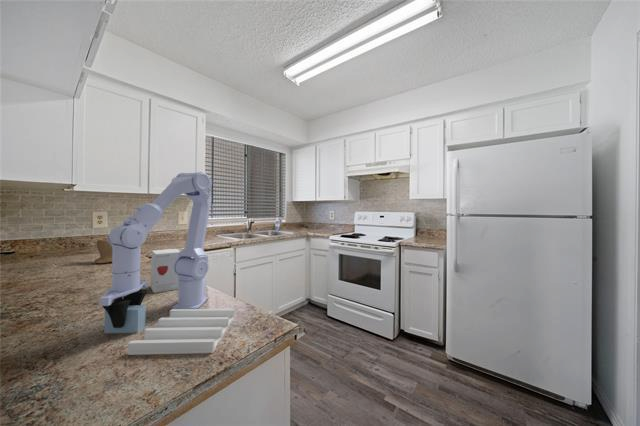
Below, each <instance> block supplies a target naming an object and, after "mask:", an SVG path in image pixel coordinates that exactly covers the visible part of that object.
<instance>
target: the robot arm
mask: <svg viewBox="0 0 640 426" xmlns="http://www.w3.org/2000/svg"><path fill="white" fill-rule="evenodd" d="M212 184H213V181H212V180H211V178H210V176H209V175H208V174H207V173H205V172H203V171H197V172H179V173H178V174H177V175H176V176H175V177H173V178H172V179H171V182H170V183H169V184H168V185H167V187H165V189H163V191H162V192H161V193H160V194H159V195H158V196H157V197H156V198H155V199H154V200H153V201H152V202H151V203H143V204H140V205H138V206H137V207H136V209H137V210H136V211H135V212H134V213H132V214H131V215H130V217H129V218H125V219H123V221H122V222H123V224H120V225H115V227H113V228H112V229H111V230H110V232H109V234H108V235H107V236H106V237H107V240H108V242H109V243H110V244H111V245H112V247H113V250H112V251H113V254H112V262H111V265H112V266H111V287H108V288H107V292H106V293H105V294H104V295H102V296H100V297H99V298H98V299H99V300H98V303H99V305H98V306H99V307H102V308H103V309H104V311H105V310H106V311H107V313H108V314H109V316H110V319H111V322H112V325H113V328H122V327H124V324H125V319H126V312H127V309H128V306H129V305H142V303H143V300H145V299H144V298H145V297H146V295H147V294H148V290H147V289H143V288H148V283H149V282H148V279H141V249H142V248H141V246H142V245H143V244H145V243H146V240H147V237H148V236H147V235H148V233H149V232H150V231H151V230H152V229H153V228H154V227H155V226H156V225H157V224H158V222H160V220H162V218H163V216H164V213H163V211H165V209H166V208H168V207H169V206H170V205H171V204H172V203H173V202H174V201H175V200H177V199H178V198H179V197H180V196H181V195H186V197H188V198H189V199H190V200H191V202H192V208H191V214H190V219H189V224H188V229H187V234H186V240H185V246H184V248H183V249H182V250H181V251H180V253H179V255H178V258H177V260H176V262H175V264H174V272H175V273H176V274H177V275H178V278H179V285H178V289H177V291H178V293H177V294H178V295H177V297H178V298H177V303H176V304H175V305H173V306H172V307H171V308H172V309H200V307H202V305H204V304H205V302H207V300H208V299H209V296H207V280H206V278H205V276H206V275H207V273H208V271H209V268H210V267H209V263H208V261H209V260H208V259H209V256H208V254H207V253H206V251H205V250H204V245H205V239H206V234H207V227H208V222H209V216H210V212H211V211H210V210H211V204H212V193H211V191H212ZM172 309H171V310H172Z"/></svg>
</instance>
